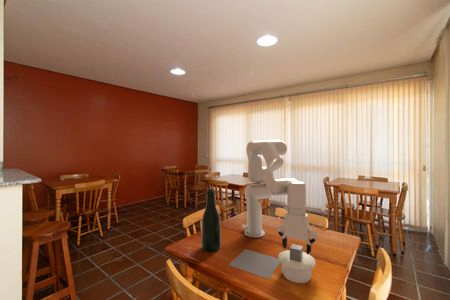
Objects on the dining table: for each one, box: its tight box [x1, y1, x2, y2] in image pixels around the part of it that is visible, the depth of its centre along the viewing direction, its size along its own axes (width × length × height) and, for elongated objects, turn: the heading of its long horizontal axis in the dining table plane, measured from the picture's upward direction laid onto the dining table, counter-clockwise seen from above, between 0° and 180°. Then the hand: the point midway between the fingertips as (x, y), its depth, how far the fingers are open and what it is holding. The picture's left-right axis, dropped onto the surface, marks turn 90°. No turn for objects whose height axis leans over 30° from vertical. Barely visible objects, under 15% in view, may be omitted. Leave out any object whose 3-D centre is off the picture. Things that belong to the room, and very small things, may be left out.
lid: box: [277, 243, 316, 270], centre depth 92 cm, size 15×15×6 cm
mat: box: [228, 249, 281, 280], centre depth 103 cm, size 20×18×1 cm
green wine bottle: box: [201, 187, 222, 253], centre depth 118 cm, size 10×10×33 cm
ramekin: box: [280, 263, 313, 284], centre depth 92 cm, size 13×13×7 cm
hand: (296, 250), depth 92 cm, fingers open, 9 cm apart
